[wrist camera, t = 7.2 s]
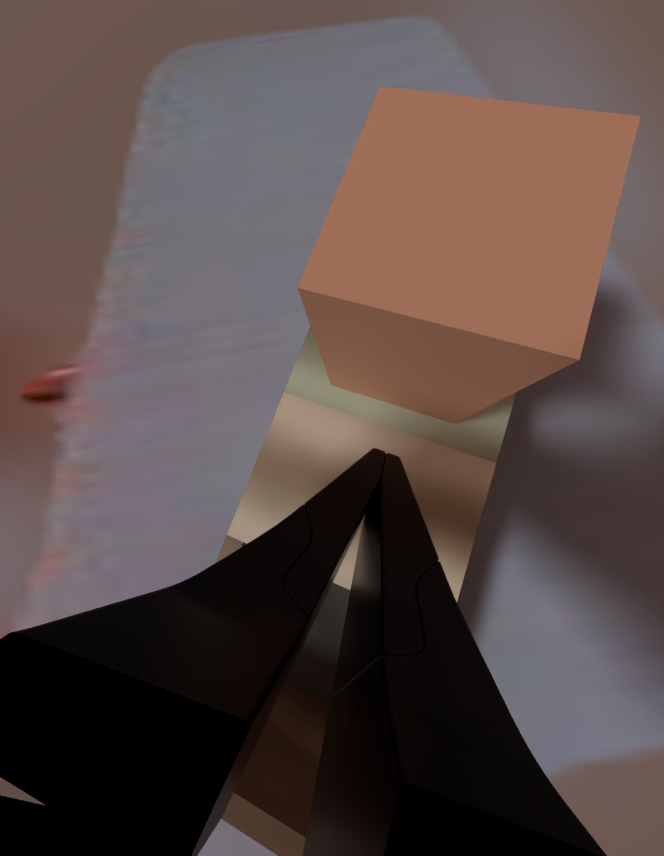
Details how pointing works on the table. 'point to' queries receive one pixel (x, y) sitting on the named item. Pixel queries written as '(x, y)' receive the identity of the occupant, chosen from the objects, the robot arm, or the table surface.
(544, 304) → the terracotta block
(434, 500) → the track
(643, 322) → the table surface
